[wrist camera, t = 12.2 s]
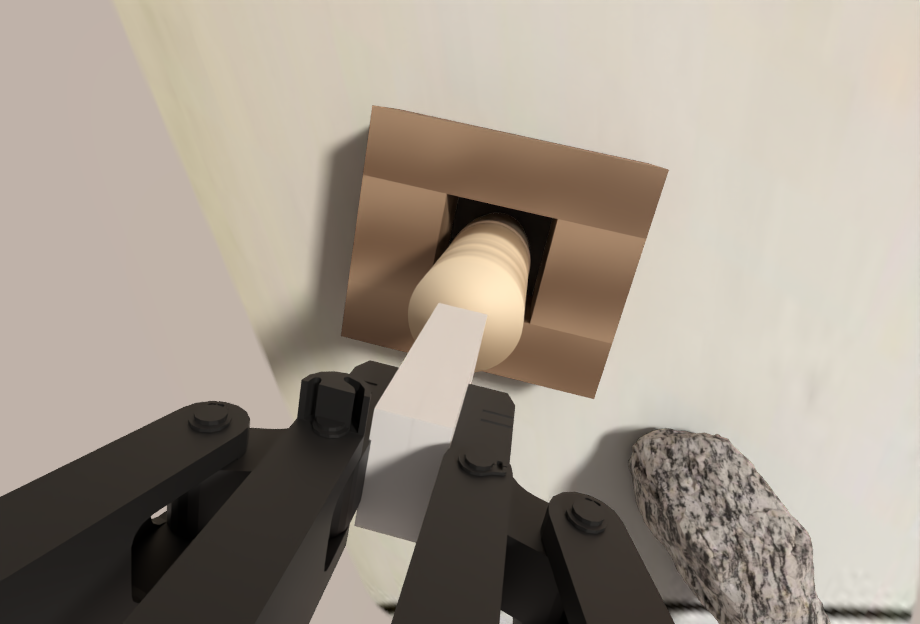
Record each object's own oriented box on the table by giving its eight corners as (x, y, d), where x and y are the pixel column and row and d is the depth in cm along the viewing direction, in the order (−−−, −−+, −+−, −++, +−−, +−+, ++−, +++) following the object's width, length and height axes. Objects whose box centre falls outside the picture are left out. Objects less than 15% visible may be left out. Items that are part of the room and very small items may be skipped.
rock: (783, 612, 37) (870, 751, 27) (656, 624, 38) (695, 759, 28) (746, 390, 35) (824, 452, 25) (614, 411, 36) (641, 477, 27)
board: (398, 109, 30) (372, 105, 25) (648, 163, 29) (668, 169, 24) (368, 307, 34) (340, 335, 30) (586, 361, 33) (593, 399, 29)
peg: (470, 199, 31) (417, 248, 18) (540, 215, 31) (538, 276, 18) (456, 266, 33) (397, 358, 19) (522, 282, 32) (509, 386, 19)
